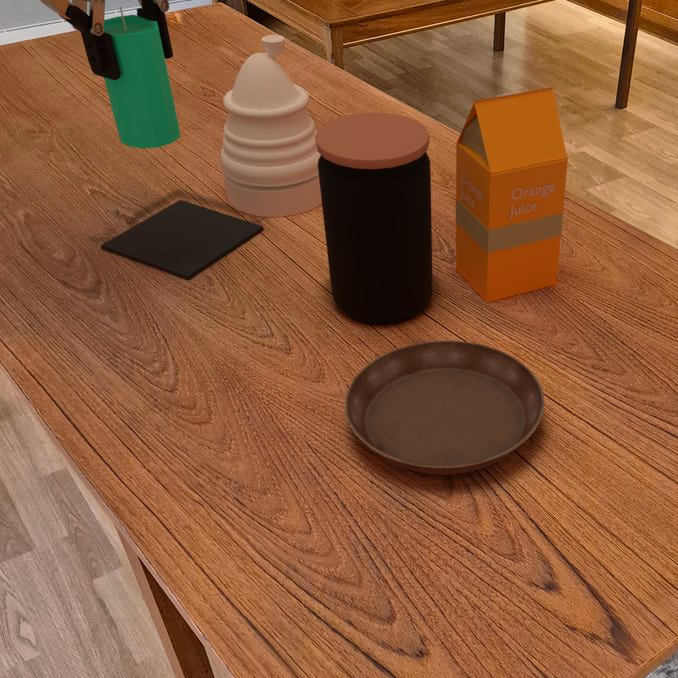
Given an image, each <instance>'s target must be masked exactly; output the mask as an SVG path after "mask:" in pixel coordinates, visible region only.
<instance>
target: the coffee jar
mask: <svg viewBox="0 0 678 678" xmlns="http://www.w3.org/2000/svg"><path fill="white" fill-rule="evenodd" d="M315 141H316V146H317V150H318V153H320V154H321V156H320V158H319V160H318V173H319V182H320V191H321V200H322V204H321V207H322V217H323V227H324V235H325V243H326V253H327V261H328V270H329V279H330V289H331V296H332V300H333V302H334V303H335V305H336V306H337V307H338V308H339V309H340V311H341V312H342V313H343V314H344V315H345V316H346V317H348V318H350V319H351V320H353V321H355V322H357V323H360V324H365V325H369V326H384V327H385V326H391V325H398V324H402V323H405V322H407V321H410V320H412V319H414V318H415V317H418V316H419V314H421V313H422V312H423V310H424V309H425V308H426V306H427V305H428V303H430V301H431V299H432V294H433V291H434V285H433V284H434V283H433V282H434V281H433V280H434V279H433V275H434V274H433V237H432V236H433V232H432V231H433V230H432V229H433V228H432V227H433V225H432V224H433V223H432V180H431V179H432V177H431V176H432V175H431V173H432V172H431V160H430V158H429V155H428V153H427V151H428V149H429V145H430V133H429V131H428V129H427V127H426V126H424V125H423V124H422V123H421V122H419V121H418V120H416V119H413V118H411V117H409V116H405V115H400V114H394V113H390V112H373V111H372V112H363V113H362V112H359V113H353V114H348V115H343V116H339V117H336V118H334V119H332V120H330V121H327V122H325V123H324V124H323V125H322V126H320V127H319V128H318V129H317V133H316V135H315Z"/></svg>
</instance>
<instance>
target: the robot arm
mask: <svg viewBox="0 0 678 678" xmlns="http://www.w3.org/2000/svg"><path fill="white" fill-rule="evenodd" d="M39 1H40V2H41V3H42V4H43V5H45V6H46V7H47V8H49V9H50V10H52V11H53V12H54V13H56V14H58V16H59V17H60V18H61V19H63V20H64V21H65V22H66V23H68V24H69V25H71V27H72V28H73V29H74V30H75V31H78V32H80V35H81V38H82V42H83V46H84V51H85V54H86V57H87V58H86V59H87V61H88V64H89V66H90V70H91V72H92V73H93V75H94V76H98V77H101V78H104V77H105V78H108V79H111V80H117V79H119V78H120V76H121V73H120V69H119V65H118V61H117V56H116V52H115V48H114V44H113V40H112V37H111V35H110V34H109V33H105V32H104V20H105V16H106V15H105V11H106V0H71V2H70V0H39ZM137 1H138V2H137V3H139V5H140V7H139V8H136V16H139V17H142V18H145V19H148V20H152V21H157V23H158V28H159V33H160V38H161V42H162V47H163V52H164V57H165V60H166V59H167V60H169V59H171V58H173V57H174V51H173V47H172V42H171V36H170V31H169V27H168V22H167V17H166V13H168V12H169V10H170V2H169V0H137ZM88 2H89V9H88Z"/></svg>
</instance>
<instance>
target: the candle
mask: <svg viewBox="0 0 678 678" xmlns="http://www.w3.org/2000/svg"><path fill="white" fill-rule="evenodd" d="M119 10H120V16H114V17H110V18H107V19H104V32H105V33H109V34H110V35H111V37H112V40H113V44H114V48H115V52H116V56H117V61H118V65H119V69H120V73H121V76H120V78H119V79H117V80H111V79H108V78H105V77H103V79H104V84H105V87H106V91H107V95H108V99H109V103H110V106H111V110H112V114H113V119H114V123H115V126H116V131H117V133H118V138H119V141H120V143H122V144H124V145H125V146H127V147H128V148H135V149H155V148H156V149H157V148H161V147H164V146H167V145H171V144H174V143H175V142H176V141H177V140H178V139H180V138H181V128H180V124H179V119H178V116H177V110H176V105H175V101H174V96H173V91H172V85H171V81H170V76H169V71H168V67H167V66H168V65H167V62H166V58H165V57H164V52H163V47H162V42H161V38H160V33H159V28H158V23H157V21H152V20H148V19H145V18H142V17H139V16H137V14H126V15H124V12H123V9H122V6H119Z"/></svg>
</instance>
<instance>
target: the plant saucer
mask: <svg viewBox="0 0 678 678" xmlns="http://www.w3.org/2000/svg"><path fill="white" fill-rule="evenodd" d="M544 395H545V394H544V390H543V387H542V385H541V383H540V381H539V379H538V377H536V375H535V374H534V373H533V371H531V369H530V368H529V367H528V366H526V365H525V364H524V363H523V362H521V360H519V359H517V358H515V357H514V356H512V355H510V354H508V353H507V352H504V351H502V350H500V349H497V348H494V347H491V346H488V345H485V344H481V343H477V342H471V341H470V342H469V341H462V340H432V341H431V340H430V341H423V342H417V343H413V344H412V343H411V344H408V345H405V346H401V347H398V348H396V349H392V350H391V351H388V352H386V353H383V354H382V355H380V356H378V357H376V358H375V359H373V360H372V361H371V362H369V363H368V364H366V366H364V367H363V368H362V369H361V370H359V372H358V373H357V375H355V376H354V378H353V379H352V381H351V383H350V385H349V387H348V388H347V391H346V394H345V398H344V414H345V417H346V420H347V423H348V425H349V427H350V429H351V430H352V432H353V433H354V434H355V436H356V437H357V438H358V439H359V441H361V442H362V443H363V444H364V445H365V446H366V447H367V448H368V449H369V450H371V452H373V453H375V454H376V455H377V456H379V457H380V458H382V459H384V460H385V461H387V462H388V463H391V464H393V465H395V466H397V467H400V468H404V469H406V470H410V471H413V472H416V473H422V474H428V475H429V474H430V475H443V476H444V475H448V476H449V475H459V474H465V473H471V472H475V471H479V470H482V469H484V468H486V467H489V466H491V465H494V464H495V463H498V462H500V461H502V460H503V459H505V458H507V457H509V456H510V455H512V454H513V453H514V452H515V451H517V450H518V449H519V448H520V447H521V446H523V445H524V444H525V443H526V441H527V440H529V439H530V438H531V436H532V435H533V433H535V431H536V429H537V428H538V426H539V425H540V422H541V421H542V418H543V416H544V410H545V396H544Z"/></svg>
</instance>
